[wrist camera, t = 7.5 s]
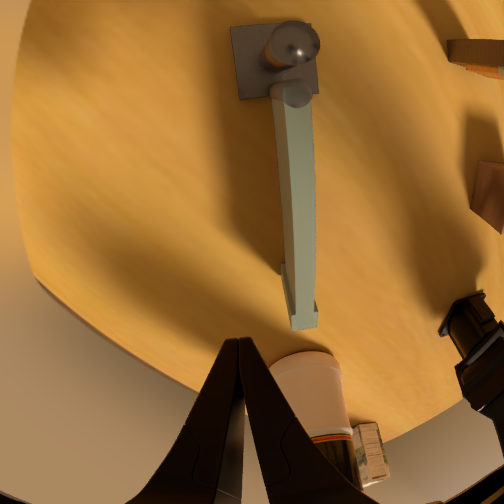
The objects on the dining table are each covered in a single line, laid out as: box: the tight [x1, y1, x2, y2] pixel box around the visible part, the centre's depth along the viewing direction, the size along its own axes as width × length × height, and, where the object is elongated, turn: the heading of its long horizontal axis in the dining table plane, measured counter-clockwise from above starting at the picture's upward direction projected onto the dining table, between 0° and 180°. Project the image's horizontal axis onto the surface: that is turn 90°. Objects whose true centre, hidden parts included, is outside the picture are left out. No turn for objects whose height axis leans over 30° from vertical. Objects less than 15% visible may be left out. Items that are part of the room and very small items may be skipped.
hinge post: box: [230, 21, 320, 99], centre depth 11 cm, size 5×5×7 cm
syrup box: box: [352, 423, 390, 487], centre depth 42 cm, size 6×6×14 cm
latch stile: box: [447, 39, 504, 80], centre depth 10 cm, size 2×4×7 cm
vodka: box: [269, 351, 367, 495], centre depth 19 cm, size 9×9×30 cm
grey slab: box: [269, 78, 318, 331], centre depth 17 cm, size 15×2×6 cm, turn 7°
